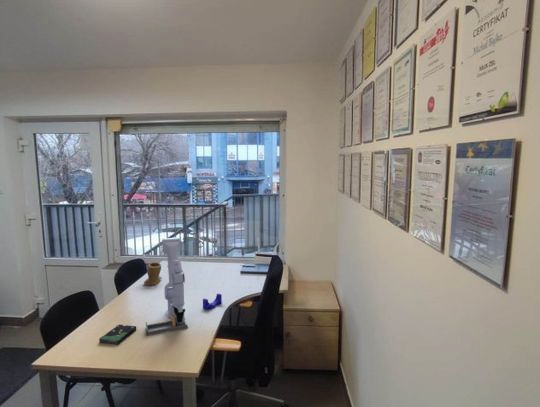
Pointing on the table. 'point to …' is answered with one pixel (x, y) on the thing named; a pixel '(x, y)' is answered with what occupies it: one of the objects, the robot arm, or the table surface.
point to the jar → (180, 322)
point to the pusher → (173, 320)
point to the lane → (162, 327)
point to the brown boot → (153, 273)
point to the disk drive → (117, 335)
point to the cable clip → (212, 305)
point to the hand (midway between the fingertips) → (179, 319)
